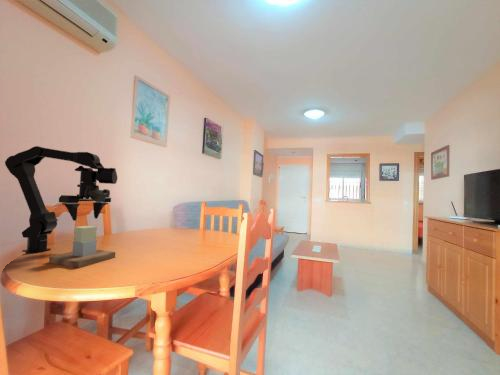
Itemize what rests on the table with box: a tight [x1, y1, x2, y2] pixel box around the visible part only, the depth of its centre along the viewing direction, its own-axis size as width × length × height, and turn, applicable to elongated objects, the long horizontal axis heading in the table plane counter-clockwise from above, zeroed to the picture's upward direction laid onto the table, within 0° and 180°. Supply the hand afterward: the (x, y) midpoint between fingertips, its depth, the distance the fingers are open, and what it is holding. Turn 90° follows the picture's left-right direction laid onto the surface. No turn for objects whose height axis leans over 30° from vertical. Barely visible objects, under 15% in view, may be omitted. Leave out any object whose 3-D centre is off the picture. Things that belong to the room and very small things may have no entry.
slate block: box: [71, 239, 97, 257], centre depth 84 cm, size 5×5×5 cm
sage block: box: [73, 225, 98, 242], centre depth 85 cm, size 5×5×5 cm
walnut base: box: [48, 248, 116, 269], centre depth 84 cm, size 14×14×2 cm
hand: (85, 219), depth 97 cm, fingers open, 9 cm apart
